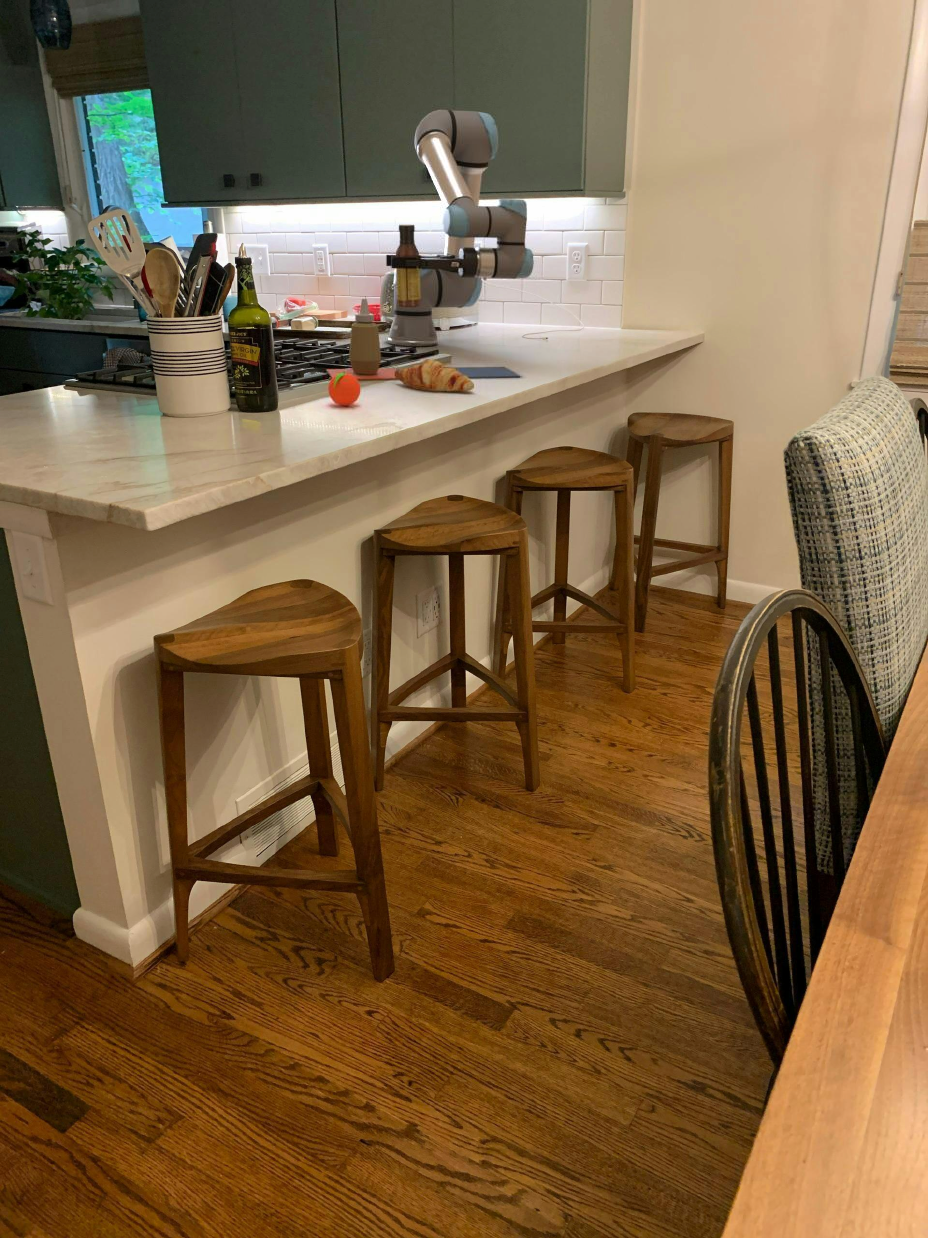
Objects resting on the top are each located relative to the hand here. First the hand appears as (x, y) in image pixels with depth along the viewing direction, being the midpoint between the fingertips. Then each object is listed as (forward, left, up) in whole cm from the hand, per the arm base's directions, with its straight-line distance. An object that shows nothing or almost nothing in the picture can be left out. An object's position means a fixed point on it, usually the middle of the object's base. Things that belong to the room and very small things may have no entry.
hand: (389, 261), depth 240 cm
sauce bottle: (0, +5, -11) cm, 12 cm away
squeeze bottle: (+14, -9, -26) cm, 31 cm away
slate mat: (+14, +21, -26) cm, 36 cm away
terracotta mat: (+14, -9, -26) cm, 31 cm away
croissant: (+34, +4, -26) cm, 43 cm away
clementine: (+51, -20, -26) cm, 61 cm away
